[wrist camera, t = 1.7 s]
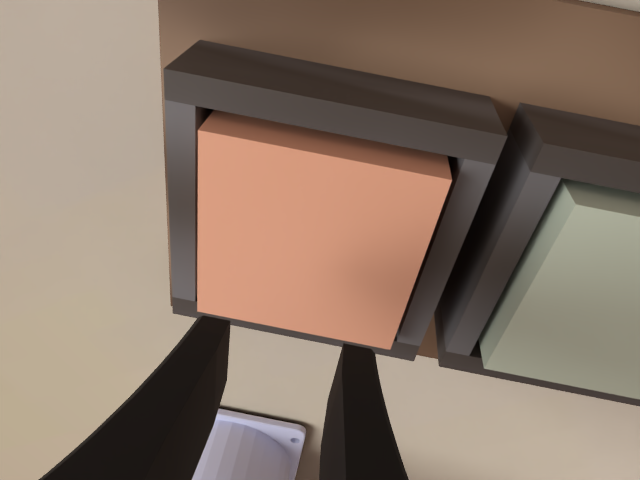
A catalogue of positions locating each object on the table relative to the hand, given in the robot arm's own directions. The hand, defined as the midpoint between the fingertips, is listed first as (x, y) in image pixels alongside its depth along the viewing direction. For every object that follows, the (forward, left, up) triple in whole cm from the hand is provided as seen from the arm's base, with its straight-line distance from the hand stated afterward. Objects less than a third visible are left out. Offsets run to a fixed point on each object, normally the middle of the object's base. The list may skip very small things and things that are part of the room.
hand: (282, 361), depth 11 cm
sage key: (0, -10, -6) cm, 11 cm away
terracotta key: (0, 0, -6) cm, 6 cm away
